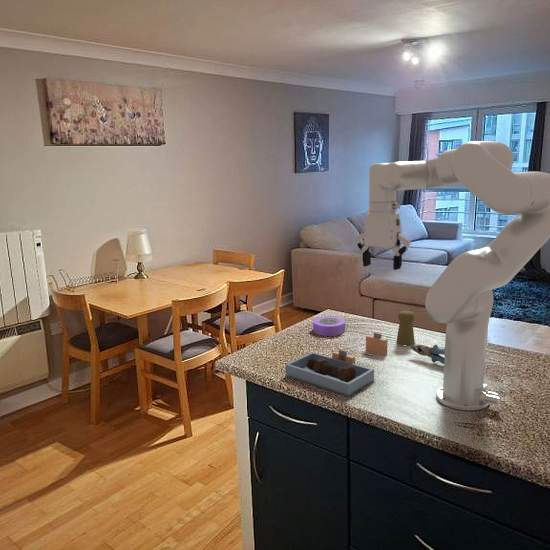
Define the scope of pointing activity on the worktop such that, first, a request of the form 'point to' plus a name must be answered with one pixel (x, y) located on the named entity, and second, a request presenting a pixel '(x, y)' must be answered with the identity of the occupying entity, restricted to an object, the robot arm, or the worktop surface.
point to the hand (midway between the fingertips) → (381, 267)
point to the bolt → (332, 370)
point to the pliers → (430, 352)
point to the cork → (406, 328)
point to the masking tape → (329, 326)
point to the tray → (302, 373)
